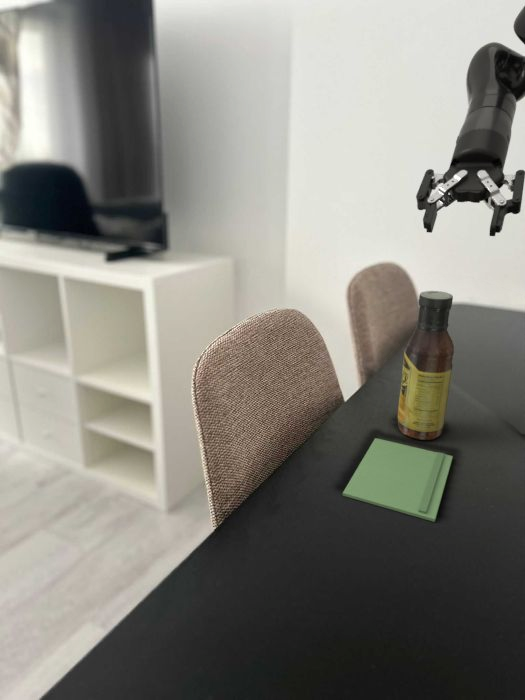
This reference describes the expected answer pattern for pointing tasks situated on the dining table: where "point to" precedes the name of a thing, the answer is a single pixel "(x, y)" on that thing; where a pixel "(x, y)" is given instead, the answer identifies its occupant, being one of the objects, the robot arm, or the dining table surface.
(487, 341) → the dining table surface
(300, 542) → the dining table surface
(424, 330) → the sauce bottle
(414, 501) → the green notebook
